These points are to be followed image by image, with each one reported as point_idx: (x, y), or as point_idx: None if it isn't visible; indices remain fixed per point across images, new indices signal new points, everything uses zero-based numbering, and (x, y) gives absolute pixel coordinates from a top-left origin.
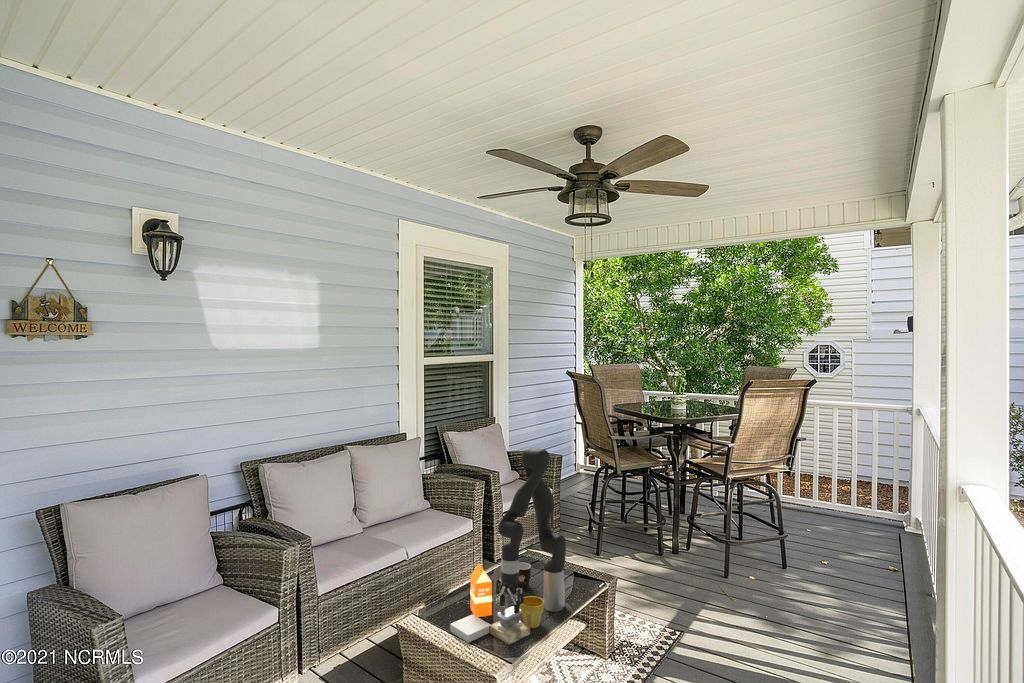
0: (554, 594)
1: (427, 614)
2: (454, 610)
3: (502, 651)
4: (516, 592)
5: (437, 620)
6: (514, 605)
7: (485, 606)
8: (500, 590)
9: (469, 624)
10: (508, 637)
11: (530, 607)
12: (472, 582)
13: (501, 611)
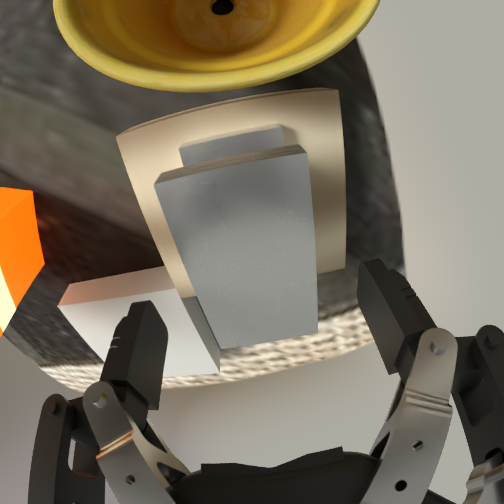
0: None
1: (32, 351)
2: None
3: (348, 284)
4: (410, 475)
5: (60, 351)
6: (390, 363)
7: (11, 249)
8: (75, 434)
9: None
10: (340, 267)
11: (347, 42)
12: None
13: (213, 325)
